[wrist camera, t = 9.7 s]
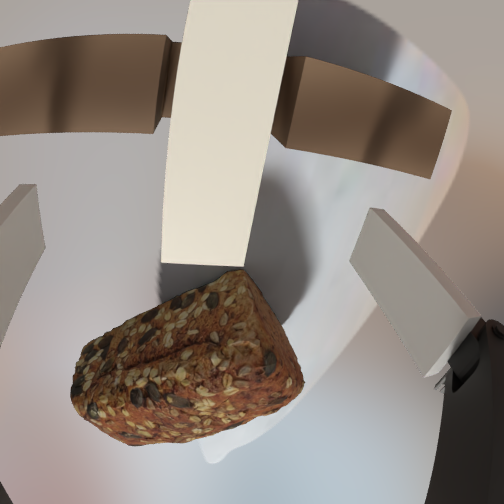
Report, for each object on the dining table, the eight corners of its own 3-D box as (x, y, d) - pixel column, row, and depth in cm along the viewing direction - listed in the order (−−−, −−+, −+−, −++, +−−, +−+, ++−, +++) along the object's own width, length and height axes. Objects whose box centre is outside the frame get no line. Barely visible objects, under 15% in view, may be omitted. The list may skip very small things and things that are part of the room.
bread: (242, 254, 25) (270, 354, 17) (289, 329, 32) (319, 415, 23) (75, 338, 27) (58, 426, 19) (141, 389, 34) (141, 466, 25)
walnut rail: (51, 48, 14) (-17, 51, 7) (376, 87, 19) (451, 110, 13) (47, 106, 16) (-19, 137, 10) (362, 138, 21) (430, 179, 15)
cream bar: (204, -36, 13) (213, -88, 6) (268, -26, 14) (312, -68, 7) (168, 194, 21) (160, 262, 15) (226, 199, 22) (243, 266, 16)
